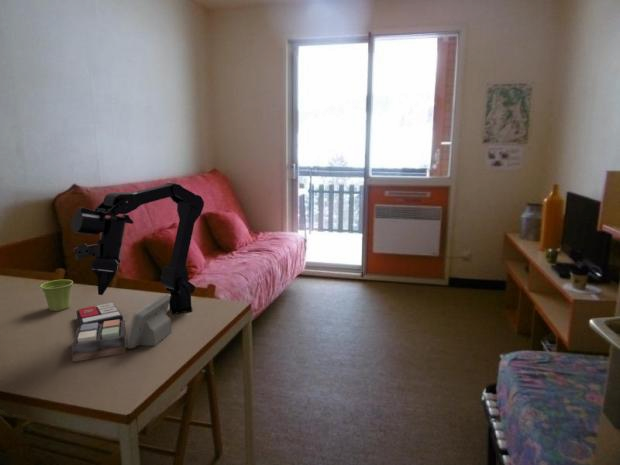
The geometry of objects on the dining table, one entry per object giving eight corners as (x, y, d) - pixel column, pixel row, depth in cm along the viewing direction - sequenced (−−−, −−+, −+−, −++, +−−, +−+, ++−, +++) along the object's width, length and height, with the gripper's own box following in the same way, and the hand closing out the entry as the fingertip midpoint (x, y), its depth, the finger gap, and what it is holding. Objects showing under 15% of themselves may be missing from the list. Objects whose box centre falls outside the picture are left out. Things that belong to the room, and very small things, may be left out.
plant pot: (78, 301, 143) (75, 278, 142) (72, 311, 134) (69, 286, 133) (48, 304, 140) (45, 280, 139) (39, 314, 132) (36, 289, 130)
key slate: (98, 329, 114) (97, 322, 113) (97, 335, 110) (96, 327, 110) (82, 332, 112) (81, 324, 112) (81, 337, 109) (80, 330, 108)
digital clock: (159, 324, 124) (156, 291, 122) (183, 329, 121) (180, 295, 119) (116, 347, 109) (112, 310, 107) (142, 353, 106) (139, 315, 104)
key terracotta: (120, 326, 116) (119, 319, 115) (119, 331, 112) (119, 324, 112) (104, 328, 114) (103, 321, 114) (103, 334, 111) (102, 326, 110)
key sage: (119, 334, 111) (118, 326, 110) (119, 340, 107) (118, 332, 107) (103, 336, 109) (102, 329, 109) (102, 342, 106) (101, 335, 105)
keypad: (125, 331, 119) (124, 318, 118) (125, 352, 106) (123, 338, 106) (79, 338, 114) (78, 325, 113) (72, 361, 102) (71, 347, 101)
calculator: (113, 301, 134) (122, 313, 122) (114, 313, 135) (123, 326, 123) (75, 308, 128) (81, 321, 116) (77, 321, 129) (83, 335, 117)
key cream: (97, 337, 109) (96, 330, 108) (95, 343, 105) (95, 336, 105) (80, 340, 107) (79, 332, 107) (78, 346, 104) (77, 338, 103)
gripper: (83, 231, 119) (74, 283, 118) (74, 233, 102) (63, 294, 101) (124, 237, 123) (115, 288, 122) (122, 240, 106) (111, 299, 105)
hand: (101, 292), depth 113 cm, fingers open, 9 cm apart
